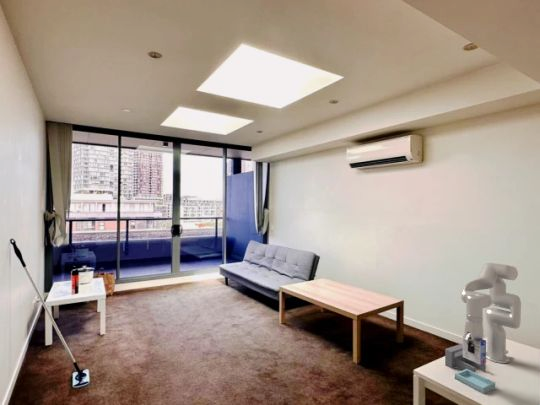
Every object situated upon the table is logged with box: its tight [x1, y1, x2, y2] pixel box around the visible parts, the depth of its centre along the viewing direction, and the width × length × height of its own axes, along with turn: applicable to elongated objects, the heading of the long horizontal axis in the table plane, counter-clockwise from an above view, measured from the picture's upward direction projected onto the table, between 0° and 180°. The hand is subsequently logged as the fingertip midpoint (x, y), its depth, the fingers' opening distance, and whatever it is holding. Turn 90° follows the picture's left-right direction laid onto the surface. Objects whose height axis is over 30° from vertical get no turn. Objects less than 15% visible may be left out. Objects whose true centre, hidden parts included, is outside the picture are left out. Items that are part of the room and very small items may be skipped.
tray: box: [454, 369, 496, 394], centre depth 168 cm, size 11×15×3 cm
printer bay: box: [444, 342, 487, 373], centre depth 183 cm, size 18×15×10 cm
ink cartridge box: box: [462, 335, 487, 365], centre depth 167 cm, size 10×6×14 cm, turn 27°
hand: (474, 350), depth 167 cm, fingers closed on ink cartridge box, 5 cm apart
